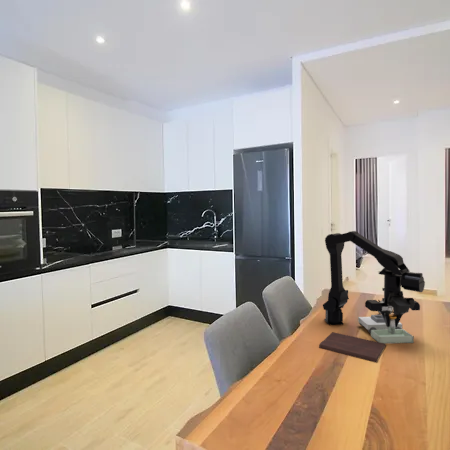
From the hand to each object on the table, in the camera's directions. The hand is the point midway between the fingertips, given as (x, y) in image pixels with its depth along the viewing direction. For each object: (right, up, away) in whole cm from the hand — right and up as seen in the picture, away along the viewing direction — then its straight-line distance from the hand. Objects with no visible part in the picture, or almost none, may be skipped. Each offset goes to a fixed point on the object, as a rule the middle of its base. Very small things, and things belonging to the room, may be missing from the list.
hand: (391, 326), depth 126 cm
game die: (+10, -3, +25) cm, 27 cm away
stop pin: (0, -2, 0) cm, 2 cm away
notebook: (-17, -7, -6) cm, 19 cm away
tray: (0, -5, 0) cm, 5 cm away
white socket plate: (0, -4, +10) cm, 11 cm away
